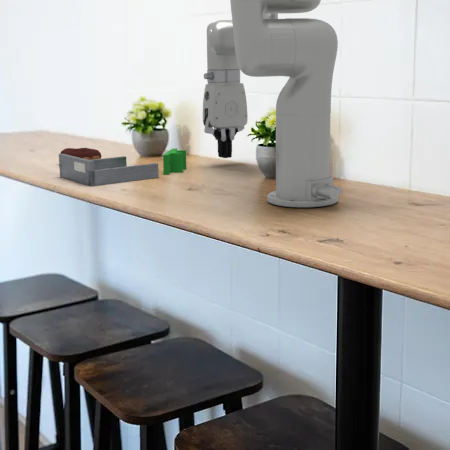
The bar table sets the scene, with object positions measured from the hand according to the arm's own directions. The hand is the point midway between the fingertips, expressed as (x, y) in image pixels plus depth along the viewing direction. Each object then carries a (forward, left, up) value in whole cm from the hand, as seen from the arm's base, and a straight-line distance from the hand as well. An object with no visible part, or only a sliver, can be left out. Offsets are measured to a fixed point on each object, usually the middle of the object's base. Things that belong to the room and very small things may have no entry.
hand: (225, 157), depth 182 cm
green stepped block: (+1, +13, -2) cm, 13 cm away
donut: (+25, +25, -2) cm, 35 cm away
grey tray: (+3, +29, -2) cm, 29 cm away
